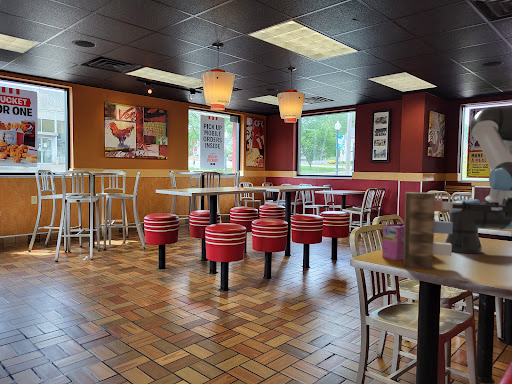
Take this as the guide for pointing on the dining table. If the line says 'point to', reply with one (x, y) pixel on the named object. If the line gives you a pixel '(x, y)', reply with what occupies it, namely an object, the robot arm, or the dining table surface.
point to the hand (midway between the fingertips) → (442, 205)
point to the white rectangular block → (442, 248)
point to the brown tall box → (418, 230)
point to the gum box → (393, 241)
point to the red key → (438, 205)
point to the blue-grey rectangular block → (443, 227)
